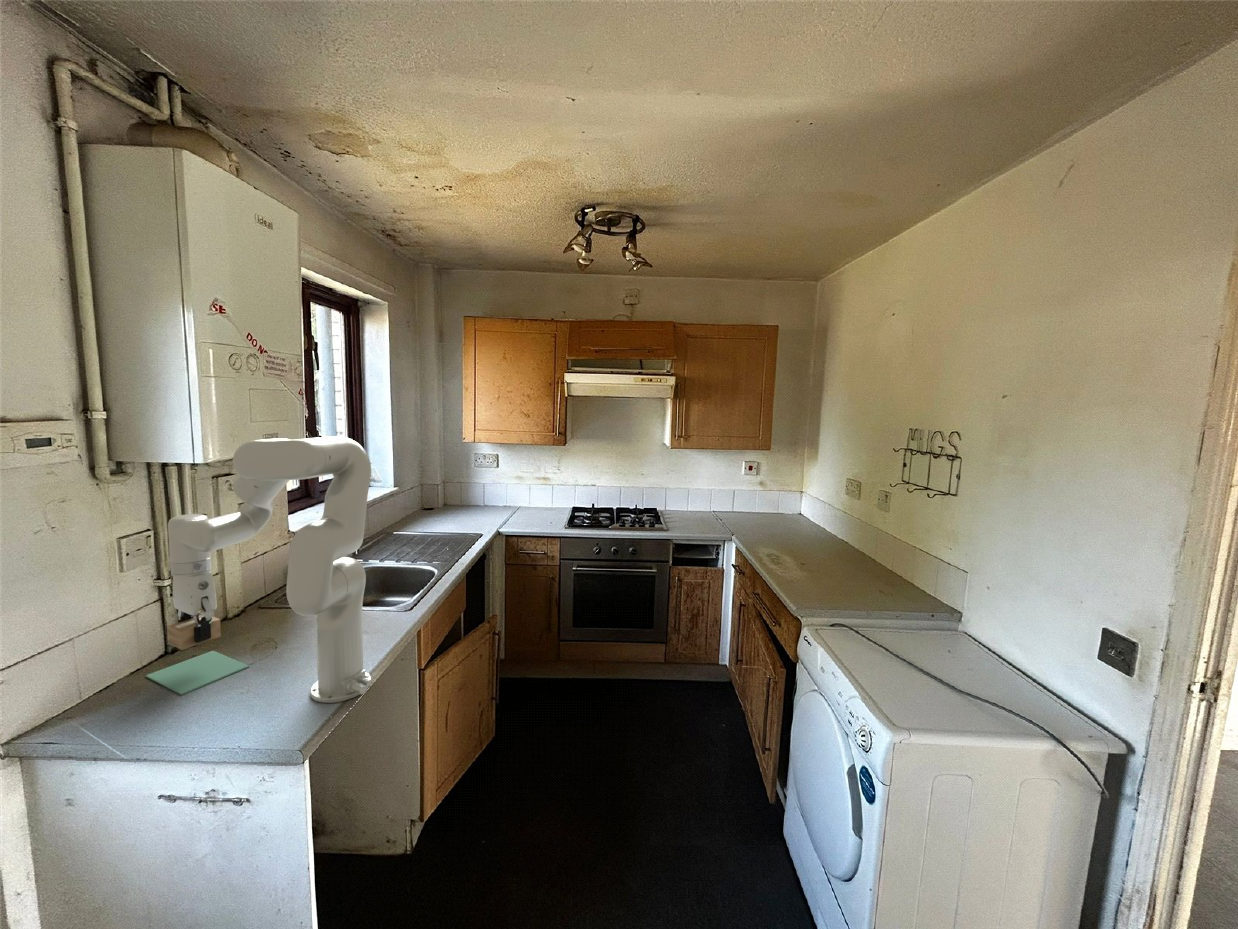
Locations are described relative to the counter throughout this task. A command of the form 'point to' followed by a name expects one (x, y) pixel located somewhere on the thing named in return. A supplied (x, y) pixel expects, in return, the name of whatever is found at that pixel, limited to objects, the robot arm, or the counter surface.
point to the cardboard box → (190, 633)
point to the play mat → (197, 672)
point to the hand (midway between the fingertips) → (195, 636)
